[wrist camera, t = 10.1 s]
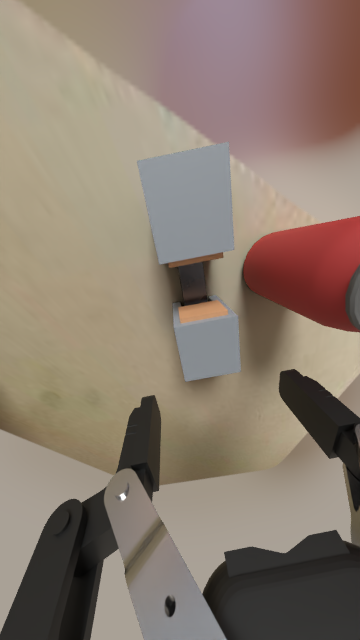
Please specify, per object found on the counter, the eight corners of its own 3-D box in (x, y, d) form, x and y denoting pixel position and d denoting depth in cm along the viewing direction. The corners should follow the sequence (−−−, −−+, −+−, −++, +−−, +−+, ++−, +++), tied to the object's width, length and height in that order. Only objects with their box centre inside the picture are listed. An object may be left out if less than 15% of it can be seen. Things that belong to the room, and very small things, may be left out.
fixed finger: (164, 263, 18) (160, 270, 12) (150, 198, 16) (136, 160, 9) (211, 254, 18) (234, 256, 12) (204, 187, 16) (228, 141, 9)
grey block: (180, 343, 22) (185, 381, 15) (172, 299, 20) (172, 323, 13) (219, 336, 22) (240, 371, 15) (215, 291, 20) (237, 311, 13)
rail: (191, 342, 22) (193, 351, 20) (165, 199, 16) (165, 192, 14) (209, 339, 22) (212, 347, 20) (190, 194, 16) (193, 186, 14)
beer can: (287, 296, 20) (429, 350, 9) (235, 291, 20) (318, 342, 9) (308, 236, 18) (536, 209, 7) (249, 228, 17) (390, 186, 6)
